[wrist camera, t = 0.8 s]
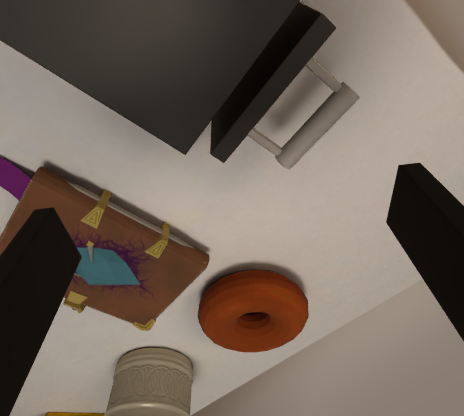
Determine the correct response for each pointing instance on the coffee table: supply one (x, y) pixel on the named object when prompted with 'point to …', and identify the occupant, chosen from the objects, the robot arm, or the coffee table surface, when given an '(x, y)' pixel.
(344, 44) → the coffee table surface
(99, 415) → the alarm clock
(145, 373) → the jar
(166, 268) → the book
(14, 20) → the cabinet
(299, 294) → the donut
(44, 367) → the coffee table surface
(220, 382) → the coffee table surface
